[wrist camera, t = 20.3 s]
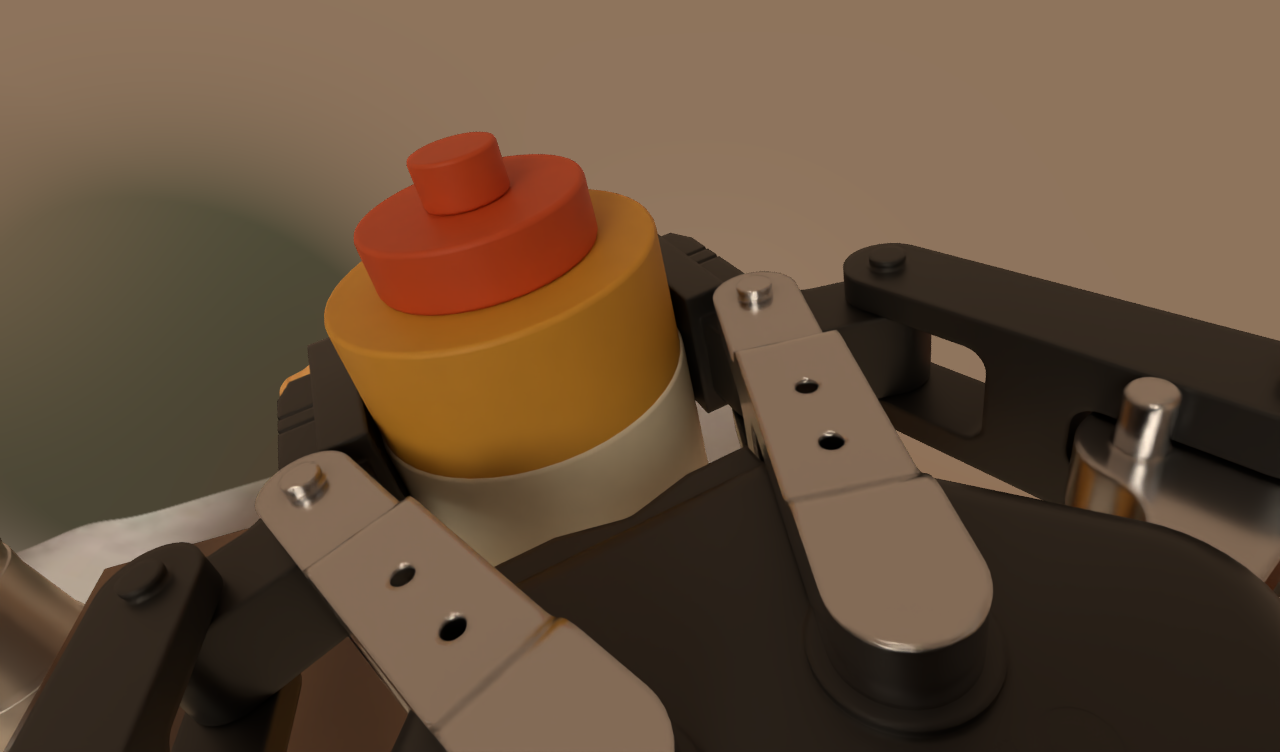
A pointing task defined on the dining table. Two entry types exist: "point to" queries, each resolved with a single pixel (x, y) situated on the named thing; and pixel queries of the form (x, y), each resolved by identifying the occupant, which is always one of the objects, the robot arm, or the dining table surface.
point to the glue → (517, 346)
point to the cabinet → (307, 694)
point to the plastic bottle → (27, 635)
